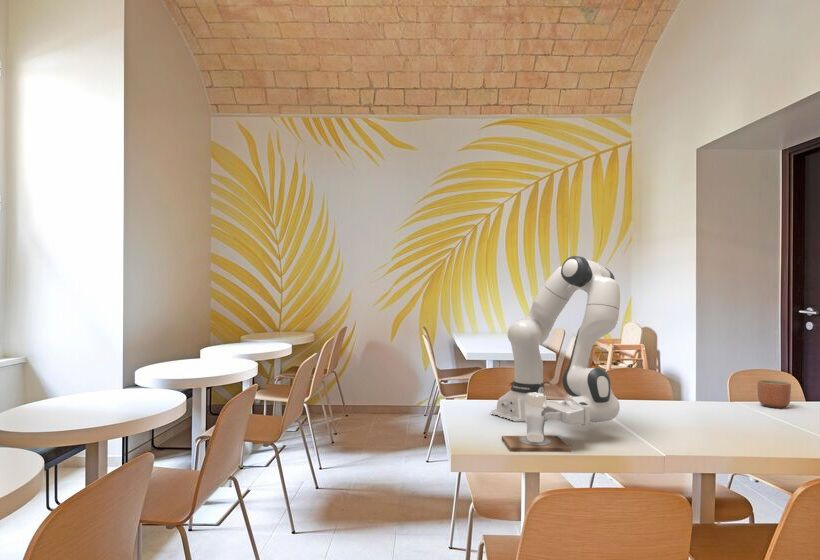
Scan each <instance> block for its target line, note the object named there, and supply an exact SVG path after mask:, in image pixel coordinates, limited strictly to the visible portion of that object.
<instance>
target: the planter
mask: <svg viewBox="0 0 820 560" xmlns="http://www.w3.org/2000/svg"><path fill="white" fill-rule="evenodd" d="M791 390H792V383H790V382H789V381H783V380H775V379H760V380H759V379H758V380H757V400H758V401H759V403H760V404H761V405H763V406H764V407H766V408H770V409H771V408H773V409H785V408H786V407H788V406H789V405H790V403H791Z"/></svg>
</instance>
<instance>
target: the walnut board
mask: <svg viewBox="0 0 820 560" xmlns="http://www.w3.org/2000/svg"><path fill="white" fill-rule="evenodd" d="M544 437H545V442H543V443H531V442H528V441H526V435H501V441H502V443H504V445H505V446H506V448H507V449H508V450H509V452H534V453H535V452H544V453H545V452H546V453H547V452H550V453H551V452H553V453H554V452H558V453H559V452H560V453H561V452H564V453H566V452H567V453H568V452H569V453H571V452H572V448H571V446H570V445H569V444H567V443H566V442H565V441H564V440H563V439H562V438H561V437H560V436H558V435H544Z"/></svg>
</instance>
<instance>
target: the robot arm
mask: <svg viewBox="0 0 820 560" xmlns="http://www.w3.org/2000/svg"><path fill="white" fill-rule="evenodd" d="M615 279H616V278H615V276H614V274H613V272H612V271H611V270H610V269H609V268H607V267H604V265H602V264H600V263H599V262H596V261H592V260H590V259H586V258H585V257H583V256H579V255H572V256H570V257H568V258H567V259H565V261H564V262H563V263H562V265H560V266H558V267H557V268H556V269H555V270H554V272H552V273H551V274H550V276H548V278H547V280H546V281H545V282H544V284H543V285H542V287H541V288H540V290H539V291H538V293H537V294H536V296H535V297H534V299H533V301H532V306H531V308H530V310H529V313H528V314H527V316H526V317H525V318H522V319H518V320H516V321H514V322H513V323H512V324H511V325H510V326H509V327H508V329H507V338H508V341H509V342H510V346H511V351H512V355H513V362H514V363H513V365H514V367H513V368H514V370H513V371H514V372H513V373H514V376H513V377H514V380H513V381H512V382H508V387H510V386H511V387H510V390H509V391H507V392H506V393H505V394H504V395H502V396H500V397H499V398H498V400H497V403H496V409H493V410H491V411H490V414H491V413H492V414H495V415H498V416H502V417H505V418H507V419H506V420H508V419H510V420H509V421H511V420H513V421H512V422H526V416H525V395H526V393H530V392H537V393H544V394H545V382H544V362H543V359H542V357H541V352H540V345H541V344H543V343H544V342H545V341H546V340H547V339H548V338H549V335H550V333H551V331H552V329H553V327H554V325H555V322H556V321H557V319H558V317H559V316H560V313H561V312H562V311H563V310H564V308H565V307H566V305H567V304H568V302H569V301H570V300H571V298H572V297H573V295H574V293H575V292H576V291H578V290H582V291H584V292H586V293H587V297H586V298H587V299H586V304H585V305H586V306H585V311H584V316H583V318H582V322H581V323H580V324H581V325H580V326H579V328H578V330H577V333H576V337H575V340H574V344H573V348H572V352H571V356H570V360H569V363H568V366H567V367H566V369H565V372H564V373H563V376H562V387H563V389H564V391H565V392H566V394H568V395H569V396H567V397H565V398H564V399H563V401H561V402H560V401H558V400H552V399H550V400H549V399H546V402H547V412H545V413H544V418H546V419H547V420H551V419H552V420H557V421H558V422H559V421H560V422H562V423H564V424H568V425H581V426H583V427H584V426H590V425H591V423H601V422H607V421H611V420H613V419H615V418H616V417H617V416H618V415H619V413H620V408H621V407H620V402H619V399H618V398H617V397H616V396H615V394H614V392H613V391H612V387H611V378H610V376H609V374H608V373H607V372H606V371H605V370H604V369H602V368H599V367H588V365H589V361H590V357H591V353H592V349H593V347H594V345H595V344H596V342H597V341H599V340H600V339H601V338H603V337H604V336H607V335H608V334H610V333H611V332H612V331H614V329H615V328H616V326H617V324H618V321H619V315H620V307H621V291H620V285H619V283H618V281H617V280H615ZM492 414H491V415H492ZM495 415H494V416H495ZM498 416H497V417H498ZM505 418H504V419H505ZM546 419H545V421H547V420H546Z"/></svg>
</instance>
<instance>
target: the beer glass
mask: <svg viewBox="0 0 820 560" xmlns="http://www.w3.org/2000/svg"><path fill="white" fill-rule="evenodd" d="M546 400H547V394H546V393H545V392H544V393H537V392H530V393H526V395H525V416H526V421H525V423H526V435H525V436H526V441H528V442H531V443H543V442H545V437H544V436H545V422H546V420H545V419H546V418H544V413H545V412H547V402H546Z"/></svg>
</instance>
